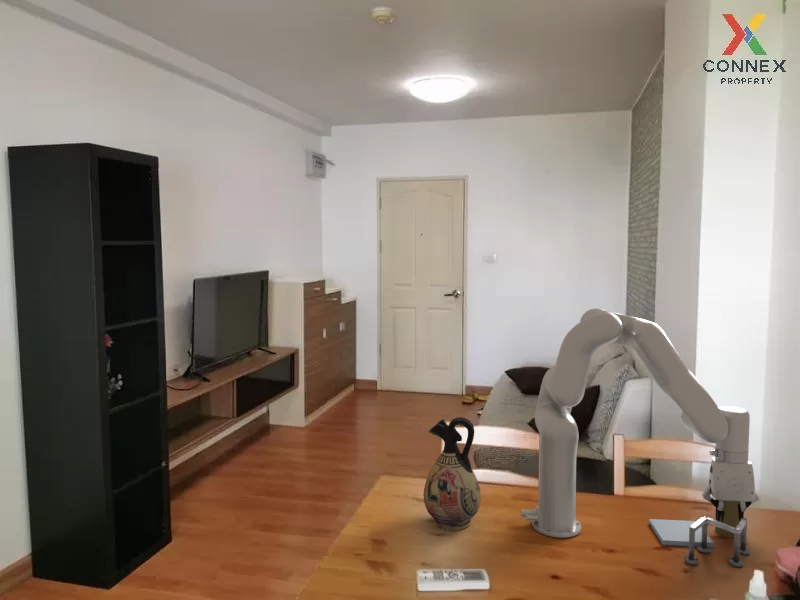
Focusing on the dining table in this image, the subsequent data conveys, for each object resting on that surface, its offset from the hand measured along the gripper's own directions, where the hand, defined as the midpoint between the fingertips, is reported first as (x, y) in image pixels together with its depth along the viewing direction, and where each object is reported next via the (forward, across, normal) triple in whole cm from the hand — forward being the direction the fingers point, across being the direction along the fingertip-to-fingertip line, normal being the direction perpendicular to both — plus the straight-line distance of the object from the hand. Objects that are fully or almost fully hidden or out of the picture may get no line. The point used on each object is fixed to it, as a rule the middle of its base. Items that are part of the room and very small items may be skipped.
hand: (729, 523), depth 157 cm
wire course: (+2, -8, -14) cm, 16 cm away
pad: (+2, -13, -3) cm, 14 cm away
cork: (+3, 0, 0) cm, 3 cm away
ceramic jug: (+2, -71, -3) cm, 71 cm away
